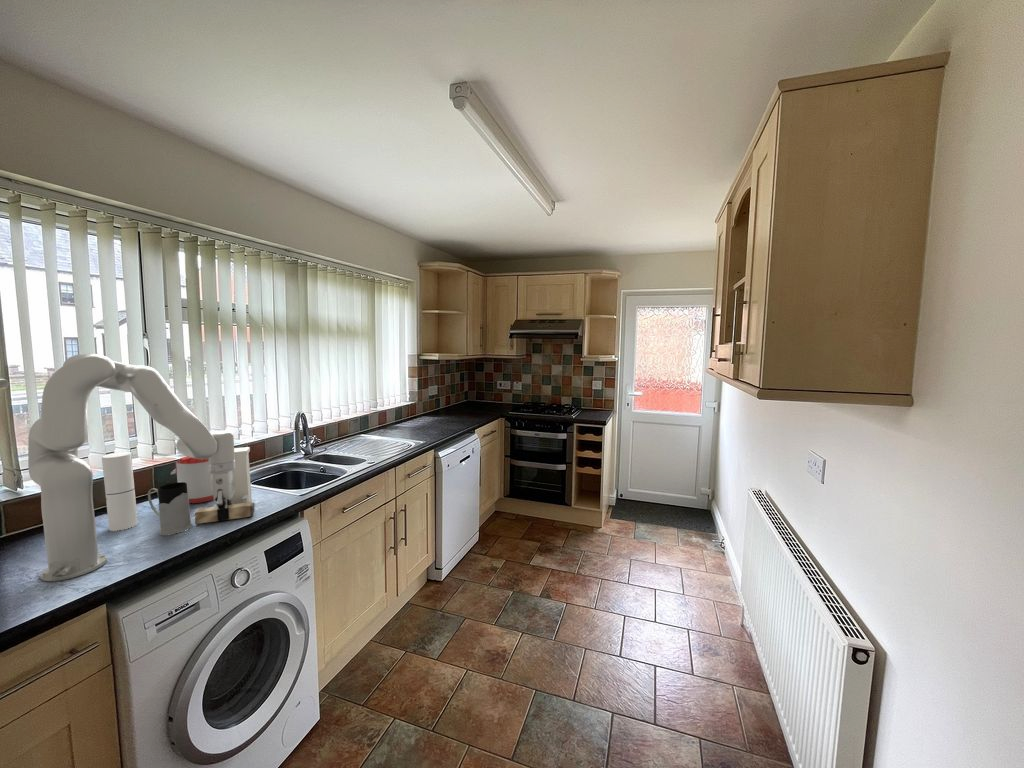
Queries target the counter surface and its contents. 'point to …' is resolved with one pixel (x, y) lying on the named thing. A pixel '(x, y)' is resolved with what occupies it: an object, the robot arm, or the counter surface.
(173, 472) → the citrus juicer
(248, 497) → the tall white box
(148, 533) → the counter surface
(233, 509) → the rail
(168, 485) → the grey mug
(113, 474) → the cylindrical container
